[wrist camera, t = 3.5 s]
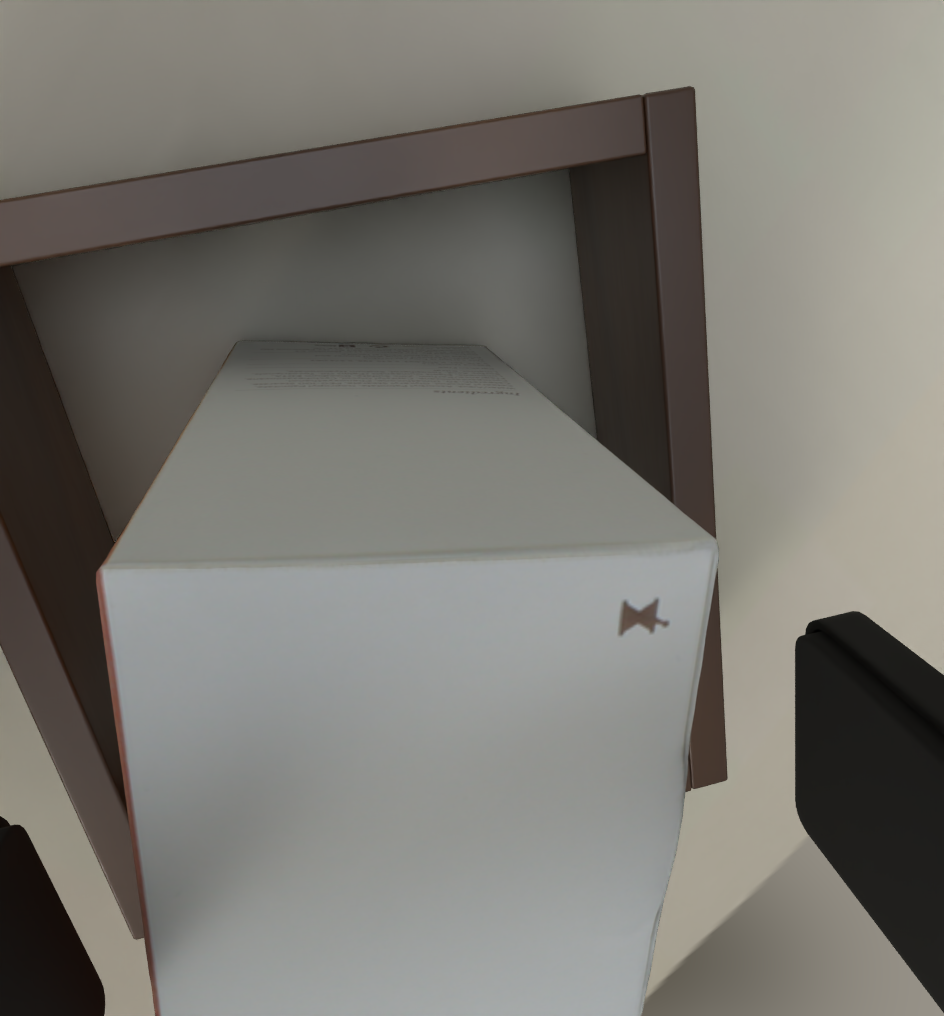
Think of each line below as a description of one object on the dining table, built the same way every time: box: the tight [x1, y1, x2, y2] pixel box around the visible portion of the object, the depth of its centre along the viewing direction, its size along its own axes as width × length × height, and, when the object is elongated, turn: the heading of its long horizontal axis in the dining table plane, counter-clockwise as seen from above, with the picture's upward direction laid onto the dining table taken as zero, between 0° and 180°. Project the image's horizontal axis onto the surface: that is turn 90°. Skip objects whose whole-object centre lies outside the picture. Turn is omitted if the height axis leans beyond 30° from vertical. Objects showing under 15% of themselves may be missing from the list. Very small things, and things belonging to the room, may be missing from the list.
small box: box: [96, 341, 719, 1016], centre depth 15 cm, size 8×6×13 cm
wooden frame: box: [0, 86, 727, 940], centre depth 19 cm, size 15×16×5 cm
